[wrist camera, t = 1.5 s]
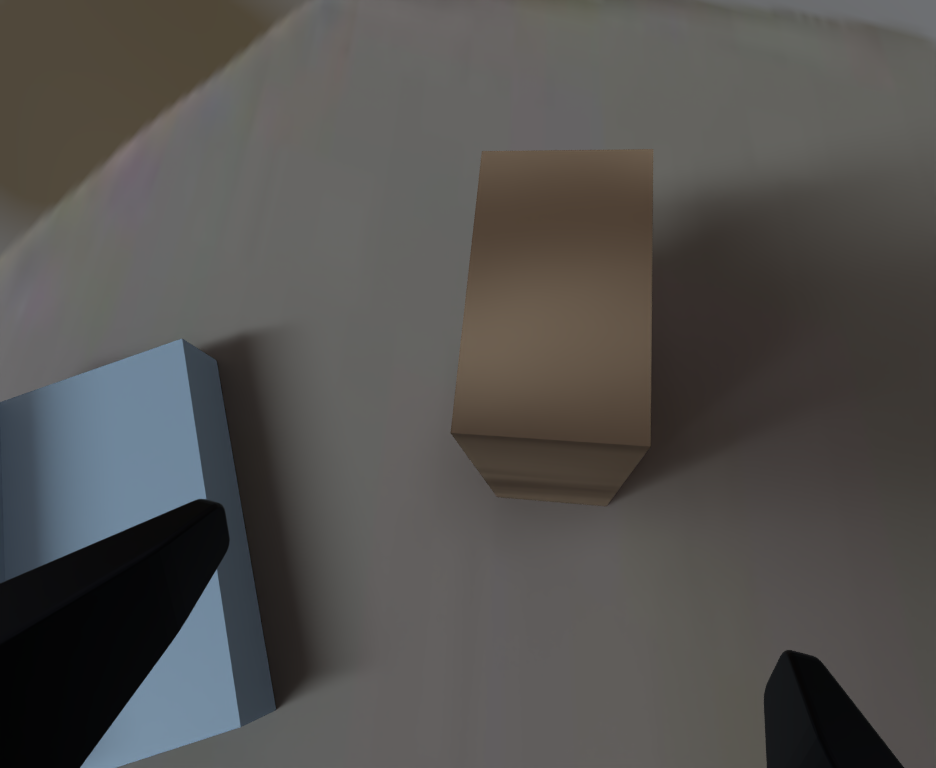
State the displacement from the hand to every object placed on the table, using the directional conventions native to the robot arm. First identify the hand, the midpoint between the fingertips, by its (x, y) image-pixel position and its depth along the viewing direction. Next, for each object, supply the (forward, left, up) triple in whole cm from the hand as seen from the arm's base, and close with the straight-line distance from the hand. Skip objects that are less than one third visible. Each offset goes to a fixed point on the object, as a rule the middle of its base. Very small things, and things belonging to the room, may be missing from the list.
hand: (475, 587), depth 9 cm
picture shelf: (+2, +15, -12) cm, 20 cm away
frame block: (+6, -2, -12) cm, 14 cm away
